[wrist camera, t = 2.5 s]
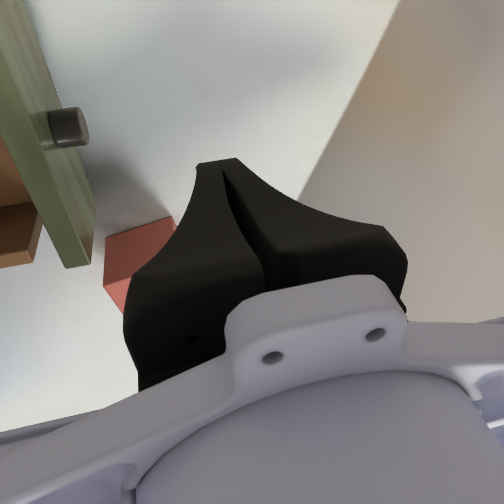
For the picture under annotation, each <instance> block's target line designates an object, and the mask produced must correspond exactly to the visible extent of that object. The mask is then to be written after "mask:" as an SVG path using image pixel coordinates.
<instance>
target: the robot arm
mask: <svg viewBox="0 0 504 504" xmlns="http://www.w3.org/2000/svg"><path fill="white" fill-rule="evenodd" d="M196 171H197V173H196V181H195V185H194V189H193V193H192V196H191V199H190V201H189V204H188V206H187V209H186V211H185V213H184V216H183V218H182V220H181V221H180V223H179V225H178V227H177V228H176V230H175V231H174V233H173V234H172V236H171V237H170V239H169V240H168V241H167V243H166V244H165V245H164V246H163V247H162V249H161V250H160V251H159V252H158V253H157V254H156V255H155V256H154V257H153V258H152V259H151V260H150V261H148V262H147V263H146V264H145V265H144V266H142V267H141V268H140V269H139V270H138V271H136V272H135V273H134V274H133V275H132V277H131V280H130V283H129V287H128V291H127V295H126V299H125V305H124V312H123V334H124V339H125V343H126V345H127V348H128V350H129V352H130V355H131V357H132V359H133V362H134V364H135V367H136V369H137V371H138V392H139V393H136V394H134V395H132V396H130V397H128V398H125V399H123V400H121V401H119V402H117V403H114V404H112V405H110V406H108V407H105V408H103V409H100V410H95V411H91V412H87V413H82V414H78V415H74V416H69V417H65V418H61V419H56V420H52V421H48V422H43V423H39V424H34V425H30V426H26V427H21V428H17V429H13V430H8V431H4V432H0V504H504V317H500V318H496V319H492V320H487V321H483V322H479V323H444V322H412V321H411V322H410V321H408V320H407V316H406V311H407V310H406V307H405V305H404V304H403V302H402V301H401V299H400V295H401V291H402V287H403V284H404V280H405V277H406V273H407V266H408V261H407V258H406V254H405V252H404V251H403V250H402V249H401V247H400V246H399V245H398V243H397V242H396V240H395V239H394V238H393V237H392V236H391V234H390V233H389V232H388V231H387V230H386V229H385V228H384V227H383V226H379V225H373V224H367V223H361V222H355V221H351V220H347V219H343V218H339V217H336V216H333V215H329V214H326V213H324V212H321V211H318V210H316V209H313V208H310V207H308V206H306V205H303V204H301V203H299V202H297V201H295V200H293V199H291V198H290V197H288V196H286V195H284V194H283V193H281V192H279V191H278V190H276V189H275V188H273V187H272V186H270V185H269V184H267V183H266V182H265V181H263V180H262V179H261V178H259V177H258V176H257V175H256V174H255V173H253V172H252V171H251V170H250V169H249V168H247V167H246V166H245V165H244V164H243V163H242V162H241V161H239V160H238V159H237V158H231V159H224V160H218V161H211V162H205V163H199V164H198V165H197V166H196Z"/></svg>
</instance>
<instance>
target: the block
mask: <svg viewBox="0 0 504 504" xmlns="http://www.w3.org/2000/svg"><path fill="white" fill-rule="evenodd" d="M176 228H177V226H176V224H175V222H174V220H173V218H172V217H168V218H165V219H162V220H159V221H156V222H153V223H150V224H147V225H144V226H141V227H138V228H135V229H132V230H128V231H125V232H122V233H119V234H116V235H113V236H110V237H107V238H106V243H105V259H104V276H103V287H104V289H105V290H106V291H107V293H108V294H109V296H110V297H111V298H112V300H113V301H114V303H115V304H116V305H117V307H118V308H119V310H120V311H121V312H122V314H123V312H124V305H125V299H126V295H127V291H128V287H129V283H130V280H131V277H132V275H133V274H134V273H135V272H136V271H138V270H139V269H140V268H141V267H142V266H144V265H145V264H146V263H147V262H148V261H150V260H151V259H152V258H153V257H154V256H155V255H156V254H157V253H158V252H159V251H160V250H161V249H162V247H163V246H164V245H165V244H166V243H167V241H168V240H169V239H170V237H171V236H172V234H173V233H174V231H175V230H176Z"/></svg>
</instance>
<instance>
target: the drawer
mask: <svg viewBox="0 0 504 504" xmlns="http://www.w3.org/2000/svg"><path fill="white" fill-rule="evenodd" d="M88 143H89V134H88V128H87V124H86V121H85V118H84V115H83V113H82V111H81V109H80V108H79V107H72V108H64V109H62V106H61V103H60V100H59V98H58V95H57V92H56V89H55V87H54V84H53V81H52V78H51V76H50V73H49V70H48V67H47V65H46V62H45V59H44V56H43V54H42V51H41V48H40V45H39V42H38V40H37V37H36V34H35V31H34V29H33V26H32V23H31V20H30V18H29V15H28V12H27V9H26V7H25V4H24V1H23V0H0V268H6V267H11V266H17V265H22V264H28V263H32V262H33V261H34V257H35V253H36V249H37V245H38V241H39V237H40V233H41V229H42V225H43V224H44V226H45V228H46V230H47V232H48V234H49V236H50V238H51V240H52V242H53V244H54V246H55V248H56V250H57V252H58V255H59V257H60V259H61V261H62V263H63V265H64V267H65V268H66V269H68V268H74V267H79V266H85V265H89V264H91V256H92V245H93V235H94V225H95V215H96V204H97V202H96V200H95V197H94V194H93V191H92V189H91V186H90V183H89V180H88V177H87V175H86V172H85V169H84V166H83V164H82V161H81V158H80V155H79V153H78V150H77V147H76V146H83V145H87V144H88Z"/></svg>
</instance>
